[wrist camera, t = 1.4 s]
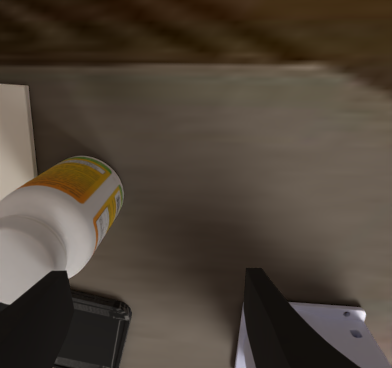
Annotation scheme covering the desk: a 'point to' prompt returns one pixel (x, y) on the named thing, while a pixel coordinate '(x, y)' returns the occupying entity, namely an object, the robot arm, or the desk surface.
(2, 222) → the supplement bottle
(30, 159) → the sticky note pad
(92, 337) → the phone
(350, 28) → the desk surface
